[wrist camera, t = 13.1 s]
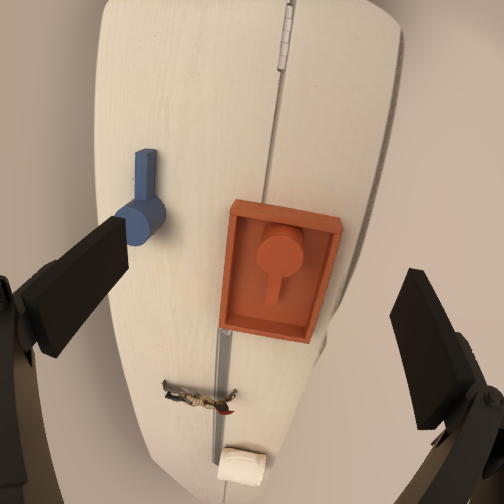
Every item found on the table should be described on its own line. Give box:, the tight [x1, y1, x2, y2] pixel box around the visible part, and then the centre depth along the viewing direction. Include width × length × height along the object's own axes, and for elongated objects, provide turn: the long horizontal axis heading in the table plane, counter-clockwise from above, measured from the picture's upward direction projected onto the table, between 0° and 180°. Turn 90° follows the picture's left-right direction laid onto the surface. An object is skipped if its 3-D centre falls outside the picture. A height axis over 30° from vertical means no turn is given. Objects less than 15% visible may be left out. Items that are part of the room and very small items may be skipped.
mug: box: [217, 448, 266, 487], centre depth 59 cm, size 12×9×8 cm
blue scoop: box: [115, 149, 166, 246], centre depth 36 cm, size 10×5×5 cm, turn 173°
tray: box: [219, 199, 343, 344], centre depth 39 cm, size 17×12×3 cm
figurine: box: [161, 380, 237, 415], centre depth 51 cm, size 6×4×15 cm
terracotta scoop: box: [257, 222, 304, 306], centre depth 37 cm, size 10×5×5 cm, turn 173°
